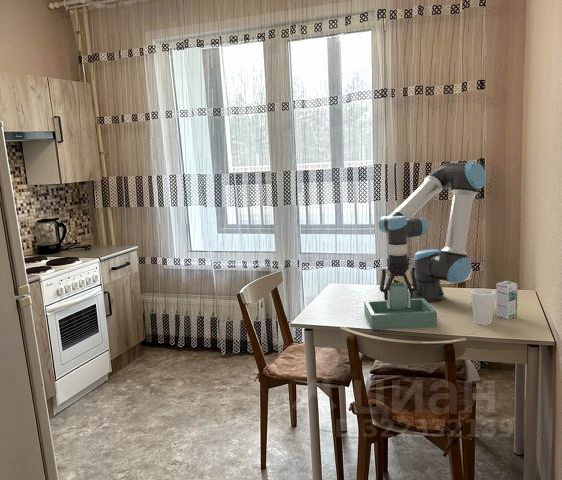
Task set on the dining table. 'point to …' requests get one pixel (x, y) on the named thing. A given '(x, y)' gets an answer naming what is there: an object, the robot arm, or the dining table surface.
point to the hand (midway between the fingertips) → (398, 307)
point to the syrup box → (506, 299)
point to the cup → (398, 295)
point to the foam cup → (483, 305)
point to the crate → (400, 315)
